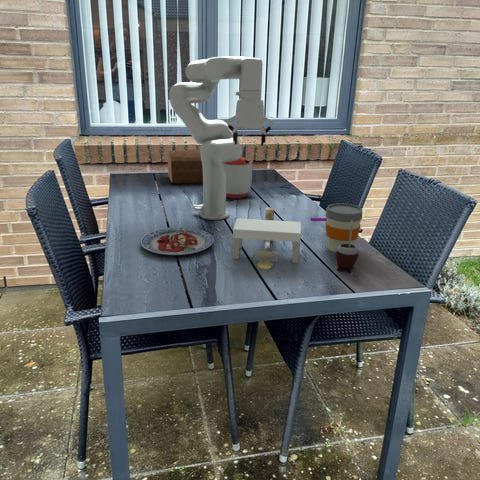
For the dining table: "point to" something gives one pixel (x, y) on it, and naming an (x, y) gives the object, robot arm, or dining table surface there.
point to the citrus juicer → (238, 178)
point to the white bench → (266, 233)
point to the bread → (185, 166)
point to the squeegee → (319, 219)
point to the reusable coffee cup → (342, 224)
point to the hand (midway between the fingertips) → (249, 144)
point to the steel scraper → (267, 243)
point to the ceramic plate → (177, 241)
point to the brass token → (264, 265)
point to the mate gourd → (346, 255)
